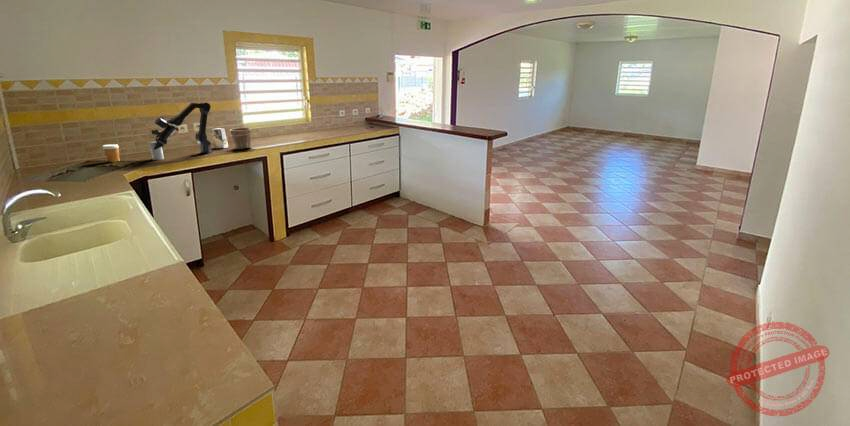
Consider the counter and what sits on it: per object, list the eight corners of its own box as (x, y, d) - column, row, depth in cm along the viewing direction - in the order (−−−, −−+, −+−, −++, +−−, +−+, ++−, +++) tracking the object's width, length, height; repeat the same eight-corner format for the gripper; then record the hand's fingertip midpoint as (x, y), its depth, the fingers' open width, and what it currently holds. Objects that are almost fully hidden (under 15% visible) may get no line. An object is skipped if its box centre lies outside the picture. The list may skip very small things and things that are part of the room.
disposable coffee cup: (125, 160, 295) (121, 144, 291) (112, 163, 287) (107, 146, 283) (116, 159, 298) (112, 143, 294) (103, 162, 289) (98, 145, 286)
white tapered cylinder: (166, 158, 303) (162, 141, 299) (159, 160, 297) (156, 143, 293) (157, 158, 304) (153, 141, 300) (150, 159, 297) (146, 143, 293)
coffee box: (228, 147, 348) (225, 128, 342) (224, 148, 342) (220, 129, 336) (219, 146, 349) (215, 128, 344) (214, 148, 343) (211, 129, 338)
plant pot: (244, 150, 333) (241, 130, 327) (228, 149, 337) (225, 129, 332) (257, 147, 347) (254, 128, 342) (242, 146, 352) (239, 127, 347)
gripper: (156, 123, 301) (142, 139, 299) (158, 126, 287) (143, 143, 285) (170, 133, 308) (156, 149, 306) (173, 136, 294) (158, 153, 292)
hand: (153, 148), depth 297 cm, fingers open, 9 cm apart
